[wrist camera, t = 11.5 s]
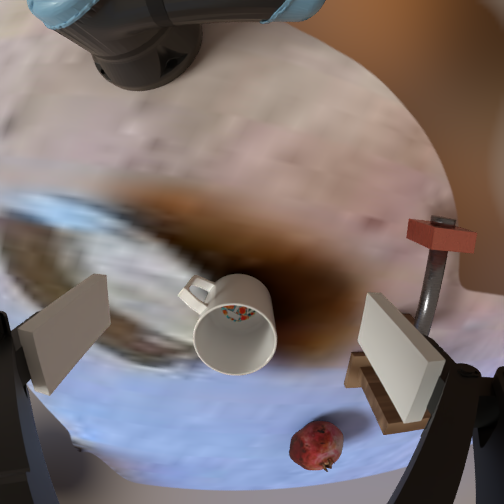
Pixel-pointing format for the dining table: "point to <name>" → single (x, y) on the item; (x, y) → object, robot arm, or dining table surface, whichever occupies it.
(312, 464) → the fruit
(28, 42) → the dining table surface
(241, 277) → the mug
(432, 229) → the hook rod
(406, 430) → the wooden square frame
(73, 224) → the dining table surface
